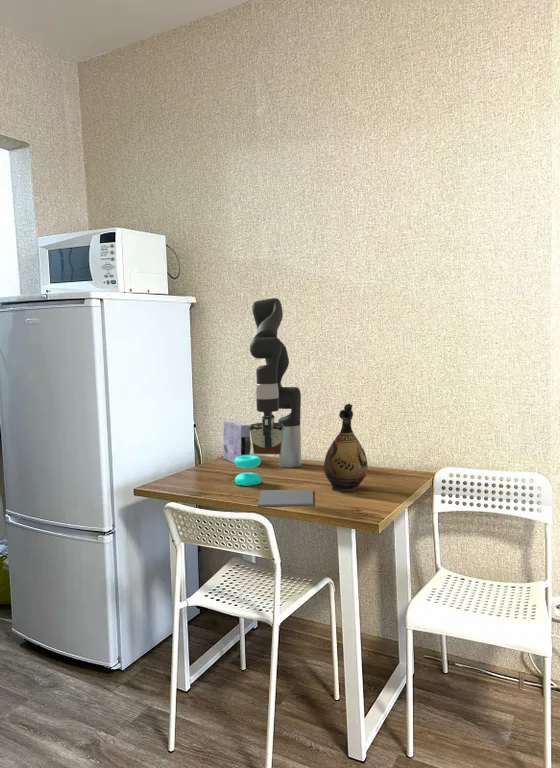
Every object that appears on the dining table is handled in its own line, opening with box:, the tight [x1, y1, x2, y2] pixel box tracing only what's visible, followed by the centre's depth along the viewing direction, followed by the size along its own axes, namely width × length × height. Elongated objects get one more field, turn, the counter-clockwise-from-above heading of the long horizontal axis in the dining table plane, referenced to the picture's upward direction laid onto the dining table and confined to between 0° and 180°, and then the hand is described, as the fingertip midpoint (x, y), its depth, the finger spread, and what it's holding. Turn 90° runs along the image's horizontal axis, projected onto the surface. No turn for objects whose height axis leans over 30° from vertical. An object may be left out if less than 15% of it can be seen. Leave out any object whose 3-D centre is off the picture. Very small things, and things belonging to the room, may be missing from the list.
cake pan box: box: [222, 419, 252, 464], centre depth 266 cm, size 19×5×18 cm, turn 30°
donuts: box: [233, 454, 263, 487], centre depth 227 cm, size 10×10×10 cm
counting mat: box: [257, 489, 314, 507], centre depth 205 cm, size 18×18×1 cm
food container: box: [249, 421, 285, 456], centre depth 206 cm, size 12×6×10 cm, turn 79°
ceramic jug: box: [323, 403, 369, 493], centre depth 216 cm, size 17×15×30 cm
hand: (268, 446), depth 205 cm, fingers closed on food container, 5 cm apart
